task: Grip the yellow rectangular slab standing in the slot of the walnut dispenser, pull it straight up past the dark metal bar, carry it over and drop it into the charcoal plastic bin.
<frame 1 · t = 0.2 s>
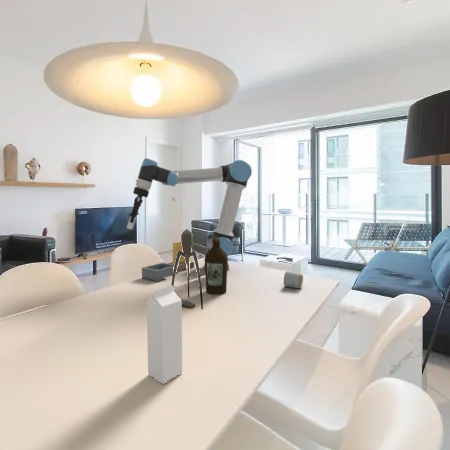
hand: (130, 227, 158), 28 cm above the table, tool tilted 20°, fingers open, 13 cm apart
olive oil: (216, 292, 140), on the table
bin: (160, 277, 165), on the table
milk: (165, 375, 75), on the table
dispenser: (179, 271, 178), on the table
grey cylinder: (293, 286, 149), on the table
yellow rectangular slab: (179, 268, 178), point 1 cm above the table, touching dispenser
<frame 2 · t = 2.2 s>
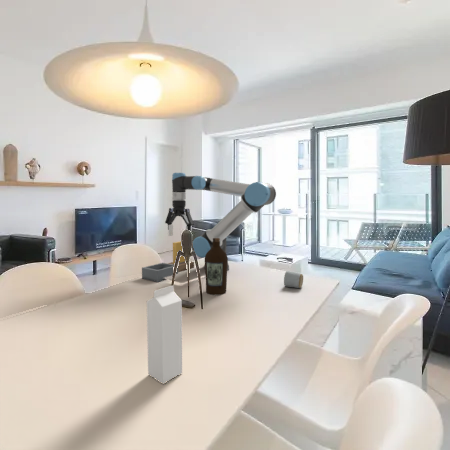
hand: (179, 236, 176), 21 cm above the table, tool pointing down, fingers open, 13 cm apart
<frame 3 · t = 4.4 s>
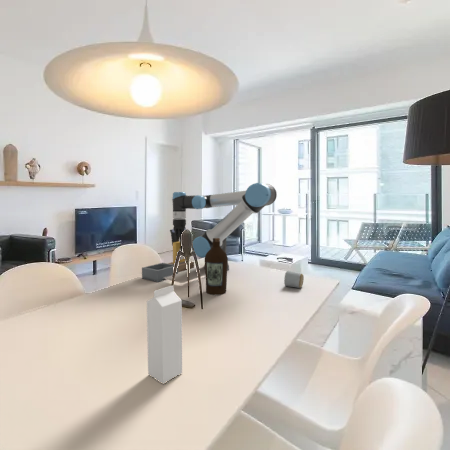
hand: (179, 258, 177), 7 cm above the table, tool pointing down, fingers closed on yellow rectangular slab, 2 cm apart
yellow rectangular slab: (179, 268, 178), point 1 cm above the table, touching dispenser, gripper
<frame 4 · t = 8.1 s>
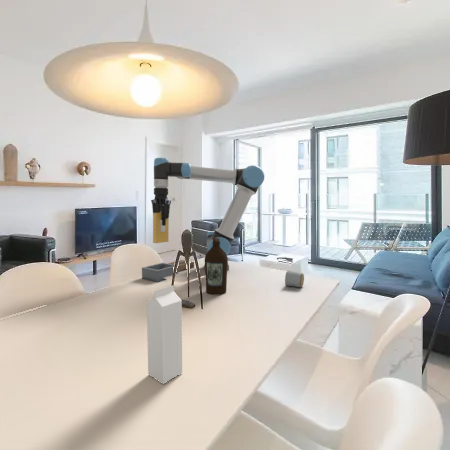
hand: (160, 231, 164), 25 cm above the table, tool pointing down, fingers closed on yellow rectangular slab, 2 cm apart
yellow rectangular slab: (160, 242, 164), point 19 cm above the table, touching gripper
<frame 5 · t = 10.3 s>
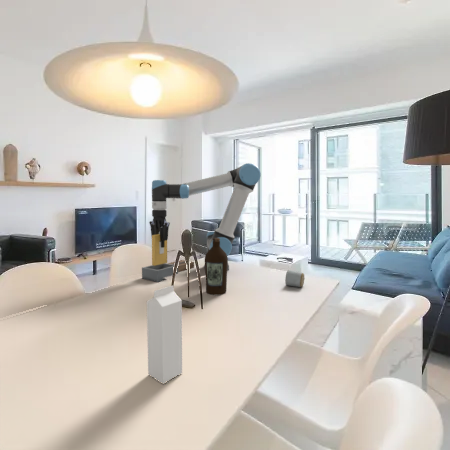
hand: (159, 253, 163), 13 cm above the table, tool pointing down, fingers closed on yellow rectangular slab, 2 cm apart
yellow rectangular slab: (159, 263, 164), point 7 cm above the table, touching gripper
when the fingers open (8 cm above the table, at t = 11.9 s): yellow rectangular slab drops 2 cm, resting on bin.
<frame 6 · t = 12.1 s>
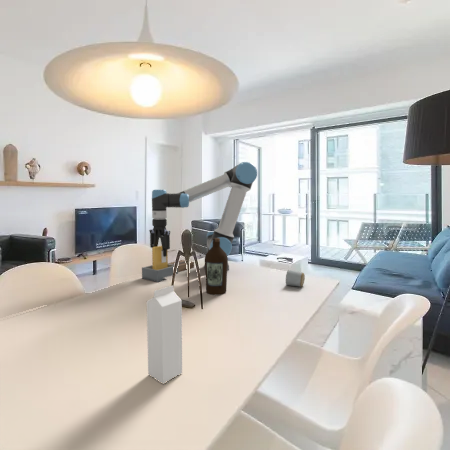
hand: (160, 261, 164), 9 cm above the table, tool pointing down, fingers open, 5 cm apart
yellow rectangular slab: (160, 275, 165), point 1 cm above the table, touching bin
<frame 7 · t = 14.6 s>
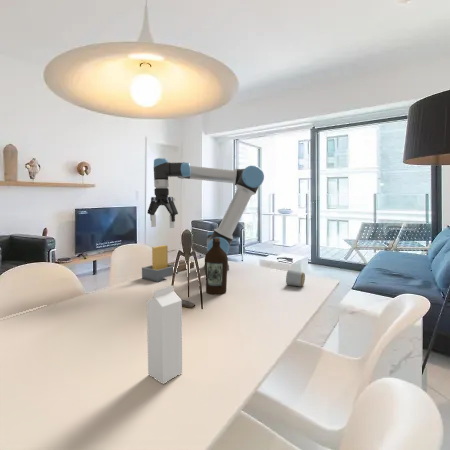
hand: (162, 227, 165), 27 cm above the table, tool pointing down, fingers open, 13 cm apart
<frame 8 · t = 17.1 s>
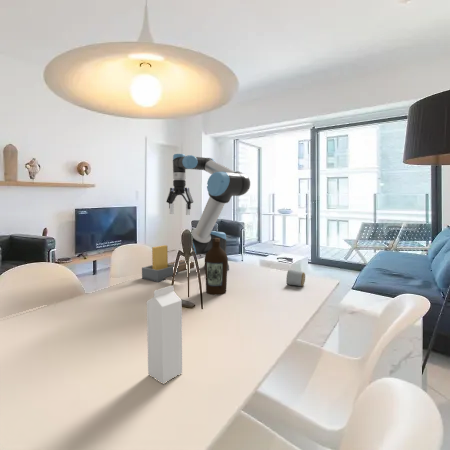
hand: (179, 214, 188), 33 cm above the table, tool pointing down, fingers open, 13 cm apart
at the end: yellow rectangular slab inside the target area on the bin (0.0 cm from its centre), point 1.0 cm above the bin's base; the gripper is holding nothing; yellow rectangular slab moved 16.0 cm from its start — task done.
